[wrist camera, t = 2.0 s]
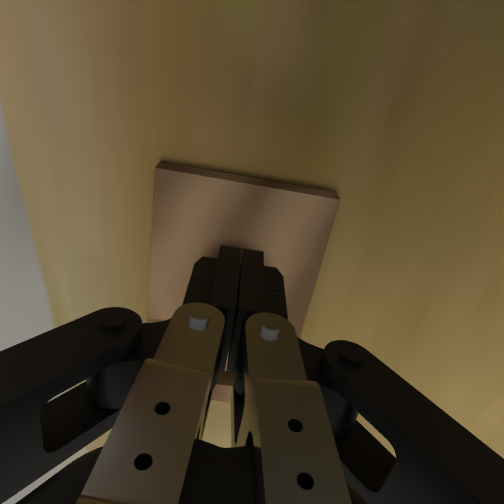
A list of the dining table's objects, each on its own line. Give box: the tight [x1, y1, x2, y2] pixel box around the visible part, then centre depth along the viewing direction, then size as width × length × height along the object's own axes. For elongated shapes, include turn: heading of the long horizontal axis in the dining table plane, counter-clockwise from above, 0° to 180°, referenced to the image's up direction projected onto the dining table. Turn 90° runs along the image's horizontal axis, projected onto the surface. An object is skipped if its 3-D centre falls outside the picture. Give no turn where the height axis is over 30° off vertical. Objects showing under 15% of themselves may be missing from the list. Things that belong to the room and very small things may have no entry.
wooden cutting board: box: [147, 161, 340, 403], centre depth 30 cm, size 12×20×2 cm, turn 170°
